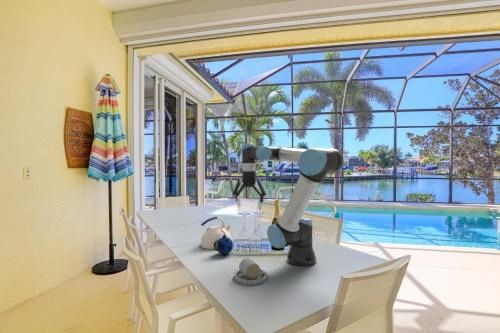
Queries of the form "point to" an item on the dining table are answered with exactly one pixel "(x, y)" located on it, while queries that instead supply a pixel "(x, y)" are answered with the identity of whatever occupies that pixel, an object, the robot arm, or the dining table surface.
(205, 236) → the kettle
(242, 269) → the ceramic mug
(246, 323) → the dining table surface
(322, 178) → the robot arm
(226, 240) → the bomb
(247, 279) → the ring coaster
